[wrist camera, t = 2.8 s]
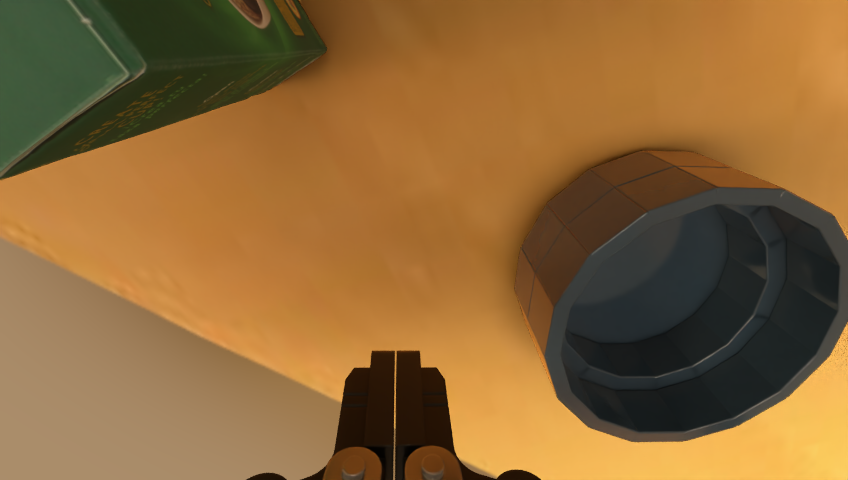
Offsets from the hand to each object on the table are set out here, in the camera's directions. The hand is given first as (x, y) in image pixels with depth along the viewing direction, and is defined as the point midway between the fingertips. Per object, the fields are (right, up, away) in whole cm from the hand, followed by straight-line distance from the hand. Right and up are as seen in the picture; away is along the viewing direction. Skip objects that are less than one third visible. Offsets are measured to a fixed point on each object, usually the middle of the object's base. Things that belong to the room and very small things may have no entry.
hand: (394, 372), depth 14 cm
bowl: (+11, +3, +7) cm, 13 cm away
